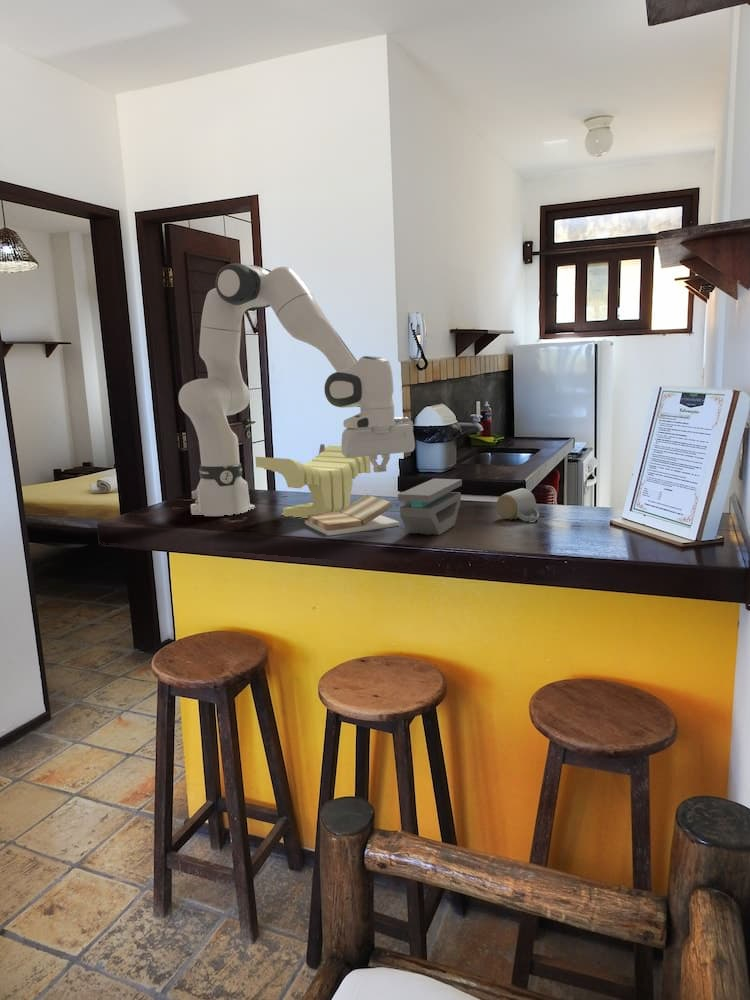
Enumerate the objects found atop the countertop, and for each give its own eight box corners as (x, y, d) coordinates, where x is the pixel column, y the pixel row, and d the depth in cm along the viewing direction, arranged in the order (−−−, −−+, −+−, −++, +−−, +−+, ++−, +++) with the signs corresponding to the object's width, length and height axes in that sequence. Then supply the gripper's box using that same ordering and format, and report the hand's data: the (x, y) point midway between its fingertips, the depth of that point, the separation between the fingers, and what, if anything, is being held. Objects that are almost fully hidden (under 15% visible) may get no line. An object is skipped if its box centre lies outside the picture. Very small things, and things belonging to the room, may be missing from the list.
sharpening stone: (430, 541, 166) (429, 495, 164) (399, 539, 169) (397, 494, 167) (462, 520, 188) (461, 479, 186) (434, 518, 191) (433, 478, 189)
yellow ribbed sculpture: (301, 527, 186) (298, 459, 182) (259, 521, 195) (255, 456, 192) (371, 507, 209) (369, 447, 206) (330, 503, 219) (328, 445, 215)
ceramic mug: (494, 518, 188) (494, 490, 187) (513, 514, 193) (514, 486, 192) (526, 525, 180) (526, 495, 179) (546, 520, 185) (546, 491, 184)
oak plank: (307, 521, 188) (307, 515, 188) (339, 517, 192) (338, 511, 192) (328, 530, 176) (328, 524, 175) (361, 526, 180) (361, 520, 179)
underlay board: (305, 524, 189) (304, 520, 189) (372, 515, 198) (372, 511, 197) (328, 535, 175) (328, 531, 175) (399, 525, 183) (399, 521, 183)
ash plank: (342, 516, 192) (339, 511, 192) (368, 498, 195) (366, 494, 195) (364, 525, 180) (362, 520, 179) (392, 506, 183) (390, 501, 182)
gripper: (406, 416, 192) (408, 466, 195) (337, 421, 183) (340, 474, 186) (418, 416, 187) (420, 469, 189) (347, 422, 178) (350, 477, 180)
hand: (380, 471), depth 187 cm, fingers closed
